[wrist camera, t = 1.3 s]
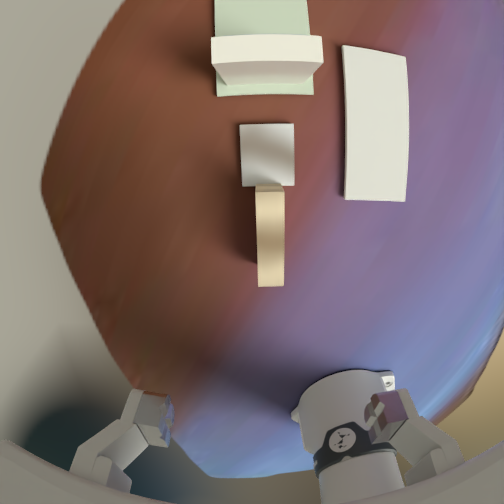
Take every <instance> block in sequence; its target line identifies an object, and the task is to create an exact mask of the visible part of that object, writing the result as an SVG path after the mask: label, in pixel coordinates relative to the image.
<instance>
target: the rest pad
mask: <svg viewBox="0 0 504 504" xmlns="http://www.w3.org/2000/svg"><path fill="white" fill-rule="evenodd" d="M342 59H343V74H344V94H345V180H344V199H345V200H377V201H402V202H405V194H406V183H407V170H408V150H409V99H408V80H407V68H406V57H403V56H399V55H395V54H390V53H386V52H381V51H376V50H371V49H365V48H359V47H353V46H346V45H343V46H342Z"/></svg>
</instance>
